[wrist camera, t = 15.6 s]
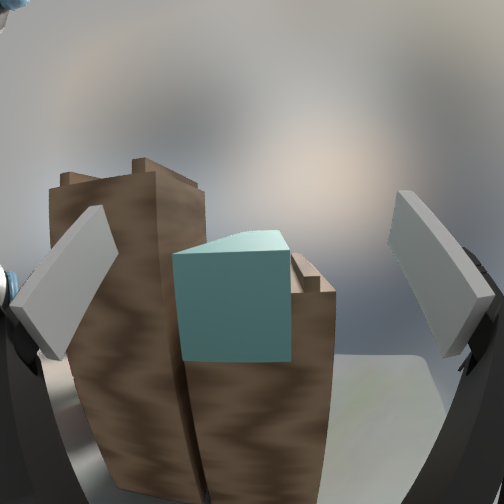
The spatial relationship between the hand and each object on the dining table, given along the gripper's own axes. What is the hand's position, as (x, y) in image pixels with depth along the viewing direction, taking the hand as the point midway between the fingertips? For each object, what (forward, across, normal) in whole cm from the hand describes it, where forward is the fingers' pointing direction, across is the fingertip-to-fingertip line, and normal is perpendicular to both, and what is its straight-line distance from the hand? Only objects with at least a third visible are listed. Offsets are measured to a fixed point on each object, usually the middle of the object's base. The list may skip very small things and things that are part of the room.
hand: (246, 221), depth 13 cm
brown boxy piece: (-3, -5, -29) cm, 30 cm away
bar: (+4, 0, -8) cm, 9 cm away
